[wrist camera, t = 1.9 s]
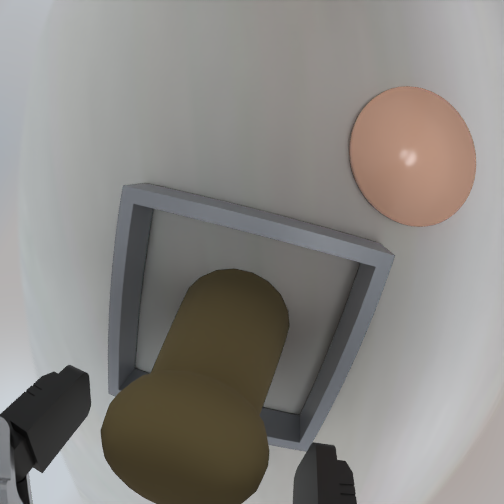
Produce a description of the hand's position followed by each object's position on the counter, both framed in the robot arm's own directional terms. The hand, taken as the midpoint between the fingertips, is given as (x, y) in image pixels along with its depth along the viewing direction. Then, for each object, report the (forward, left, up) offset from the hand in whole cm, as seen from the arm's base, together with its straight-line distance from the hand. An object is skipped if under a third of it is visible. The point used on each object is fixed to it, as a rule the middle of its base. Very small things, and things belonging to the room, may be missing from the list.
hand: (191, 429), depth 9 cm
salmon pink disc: (-11, +7, -8) cm, 15 cm away
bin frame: (0, 0, -8) cm, 8 cm away
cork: (0, 0, -8) cm, 8 cm away
